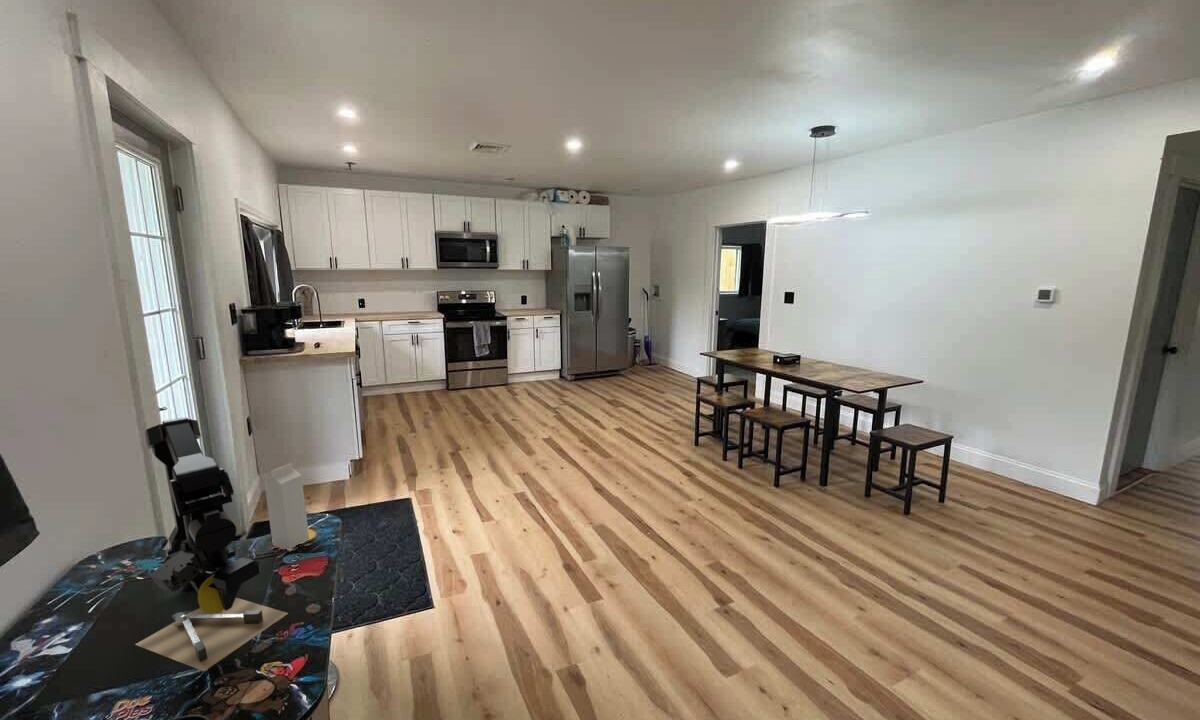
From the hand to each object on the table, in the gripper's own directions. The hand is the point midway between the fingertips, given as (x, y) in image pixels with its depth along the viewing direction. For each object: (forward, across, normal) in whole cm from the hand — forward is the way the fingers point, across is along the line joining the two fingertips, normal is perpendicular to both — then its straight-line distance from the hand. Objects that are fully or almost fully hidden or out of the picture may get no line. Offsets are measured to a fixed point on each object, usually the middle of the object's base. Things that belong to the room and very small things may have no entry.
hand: (218, 605), depth 93 cm
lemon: (+2, 0, 0) cm, 2 cm away
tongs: (+7, -5, 0) cm, 8 cm away
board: (+8, -4, +1) cm, 9 cm away
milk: (+8, -21, +30) cm, 38 cm away
